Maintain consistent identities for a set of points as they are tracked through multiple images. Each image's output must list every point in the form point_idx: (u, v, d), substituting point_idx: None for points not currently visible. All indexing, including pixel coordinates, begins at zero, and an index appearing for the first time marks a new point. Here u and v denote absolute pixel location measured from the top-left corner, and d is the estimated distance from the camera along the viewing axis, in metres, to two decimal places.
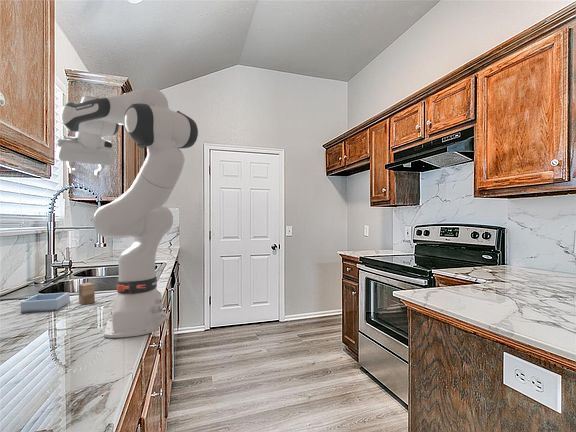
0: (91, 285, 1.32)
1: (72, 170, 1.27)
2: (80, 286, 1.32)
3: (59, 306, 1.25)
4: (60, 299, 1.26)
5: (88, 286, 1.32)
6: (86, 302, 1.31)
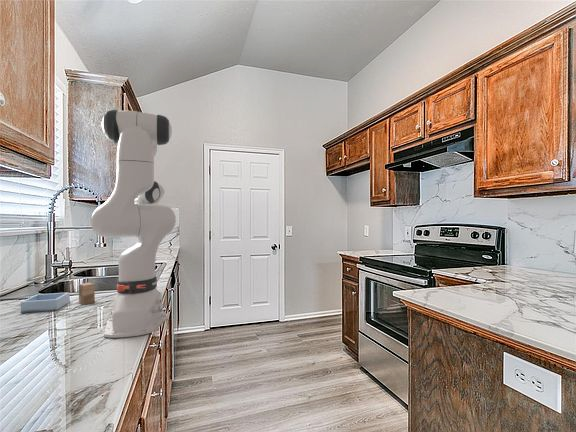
0: (91, 285, 1.33)
1: None
2: (80, 286, 1.32)
3: (59, 306, 1.25)
4: (60, 299, 1.26)
5: (88, 286, 1.32)
6: (86, 302, 1.31)
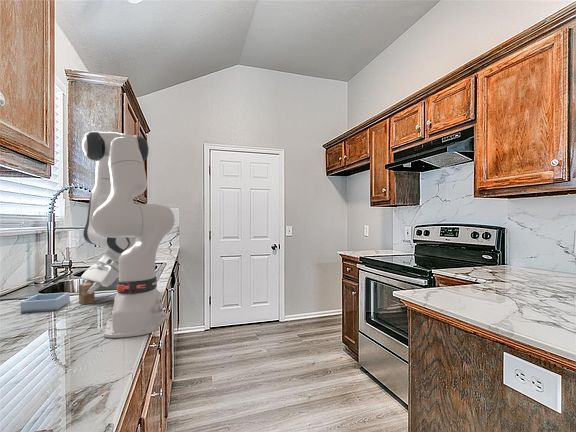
0: (91, 285, 1.33)
1: None
2: (80, 286, 1.32)
3: (59, 306, 1.25)
4: (60, 299, 1.26)
5: (88, 286, 1.32)
6: (86, 302, 1.31)
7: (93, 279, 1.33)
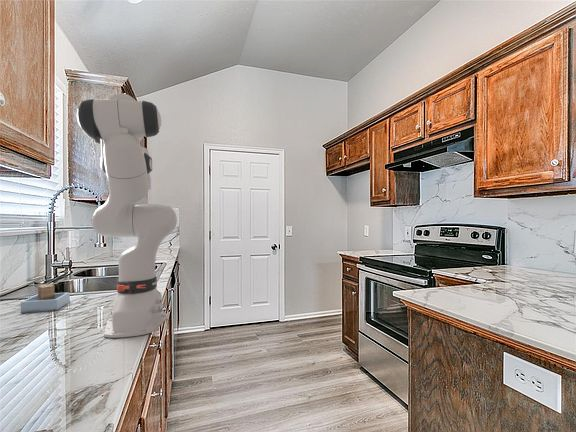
0: (51, 287, 1.26)
1: None
2: (39, 288, 1.26)
3: (59, 306, 1.25)
4: (60, 299, 1.26)
5: (47, 288, 1.26)
6: None
7: None
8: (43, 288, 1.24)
